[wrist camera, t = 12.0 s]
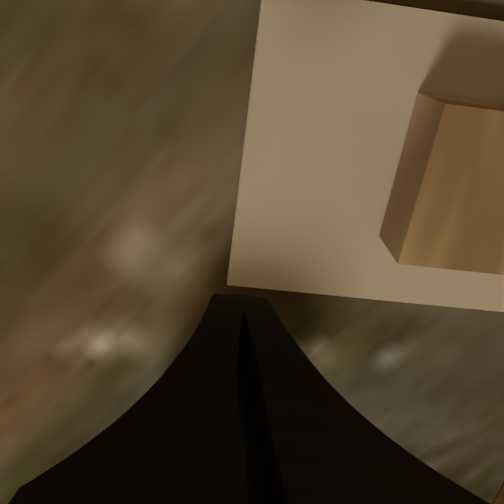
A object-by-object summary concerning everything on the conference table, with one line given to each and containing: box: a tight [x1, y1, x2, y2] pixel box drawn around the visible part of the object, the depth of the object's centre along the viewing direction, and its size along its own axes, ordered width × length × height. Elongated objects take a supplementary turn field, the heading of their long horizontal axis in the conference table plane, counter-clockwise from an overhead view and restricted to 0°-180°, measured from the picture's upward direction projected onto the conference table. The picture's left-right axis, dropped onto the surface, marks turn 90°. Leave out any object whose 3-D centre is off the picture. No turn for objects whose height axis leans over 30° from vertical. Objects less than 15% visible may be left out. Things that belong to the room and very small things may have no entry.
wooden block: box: [379, 93, 504, 275], centre depth 18 cm, size 3×6×8 cm
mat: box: [227, 0, 504, 312], centre depth 20 cm, size 14×12×1 cm
